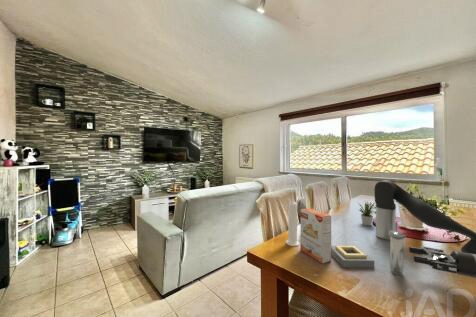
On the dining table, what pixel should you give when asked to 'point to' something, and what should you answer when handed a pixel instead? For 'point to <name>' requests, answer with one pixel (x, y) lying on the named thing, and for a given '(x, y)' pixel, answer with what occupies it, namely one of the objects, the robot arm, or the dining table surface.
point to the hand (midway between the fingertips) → (411, 253)
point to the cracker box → (316, 234)
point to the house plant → (367, 214)
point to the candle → (292, 224)
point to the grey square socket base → (351, 257)
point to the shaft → (396, 252)
